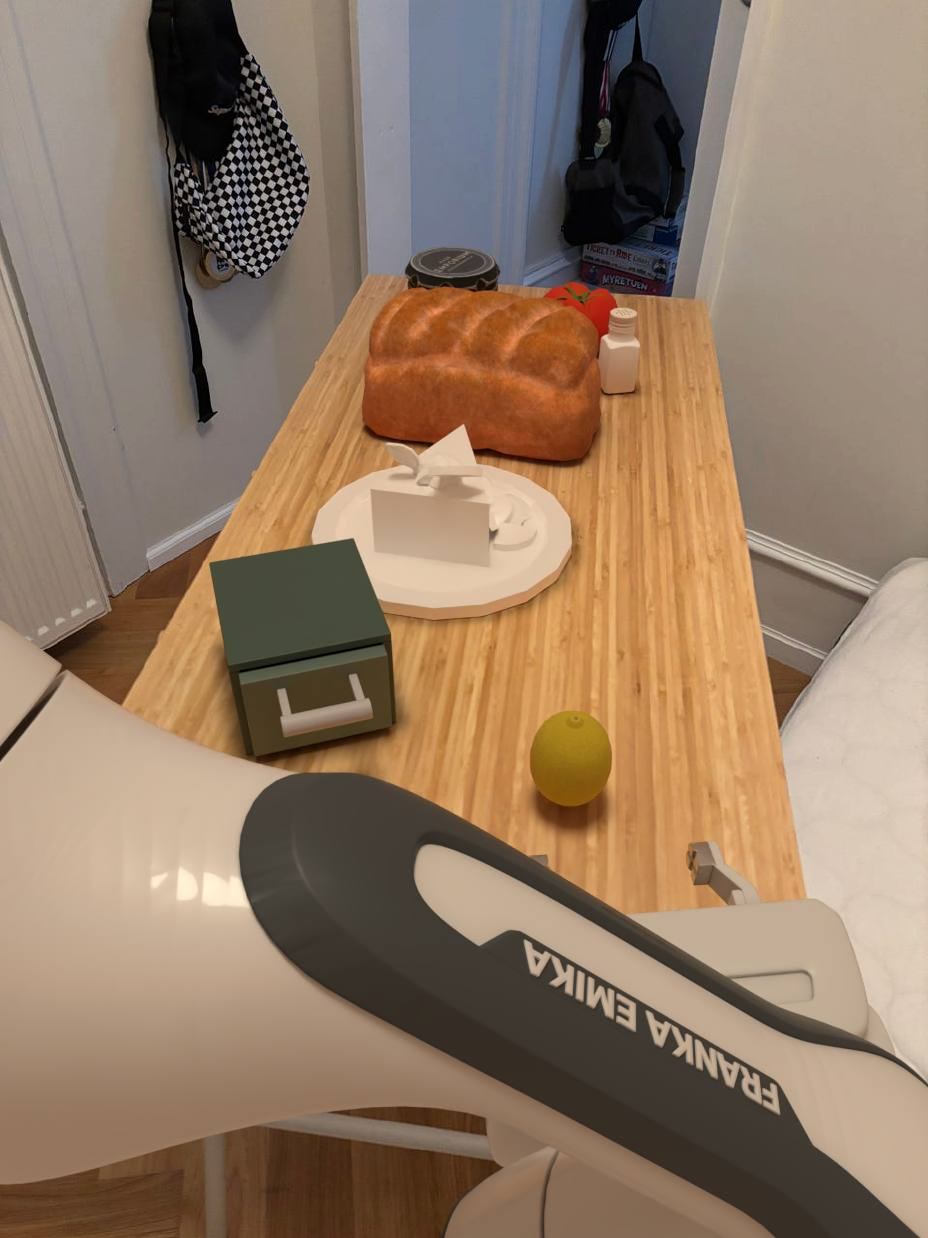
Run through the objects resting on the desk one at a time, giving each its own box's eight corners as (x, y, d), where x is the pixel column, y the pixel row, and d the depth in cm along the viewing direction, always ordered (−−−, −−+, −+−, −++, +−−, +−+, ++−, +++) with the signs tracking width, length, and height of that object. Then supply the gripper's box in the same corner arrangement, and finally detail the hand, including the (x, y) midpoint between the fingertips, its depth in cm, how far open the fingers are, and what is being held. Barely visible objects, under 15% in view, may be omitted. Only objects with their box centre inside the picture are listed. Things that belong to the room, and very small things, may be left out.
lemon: (567, 843, 63) (577, 763, 58) (510, 794, 66) (515, 714, 61) (622, 800, 66) (636, 721, 61) (565, 756, 69) (574, 676, 64)
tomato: (519, 343, 126) (521, 287, 122) (576, 323, 132) (581, 269, 127) (575, 369, 120) (580, 312, 115) (633, 347, 125) (640, 292, 121)
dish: (551, 637, 79) (560, 526, 72) (273, 596, 83) (256, 487, 76) (586, 488, 98) (597, 387, 91) (357, 460, 102) (350, 362, 95)
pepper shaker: (604, 395, 114) (612, 320, 108) (594, 381, 117) (602, 307, 111) (635, 393, 115) (645, 317, 109) (625, 379, 118) (634, 304, 112)
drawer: (406, 766, 67) (402, 694, 62) (263, 799, 65) (248, 726, 60) (358, 632, 78) (352, 562, 74) (235, 656, 76) (221, 585, 71)
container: (495, 354, 123) (498, 279, 117) (399, 350, 124) (396, 274, 118) (502, 317, 133) (504, 245, 127) (412, 313, 134) (410, 242, 128)
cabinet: (396, 722, 72) (391, 633, 66) (246, 755, 69) (227, 665, 63) (360, 622, 81) (353, 537, 75) (226, 648, 78) (208, 562, 72)
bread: (582, 473, 100) (596, 333, 90) (352, 437, 106) (341, 302, 96) (604, 415, 110) (619, 284, 101) (393, 385, 116) (387, 259, 106)
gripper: (935, 1057, 40) (811, 804, 51) (458, 1104, 38) (434, 832, 49) (891, 1121, 44) (786, 874, 55) (458, 1166, 42) (436, 902, 53)
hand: (616, 854), depth 52 cm, fingers open, 8 cm apart
